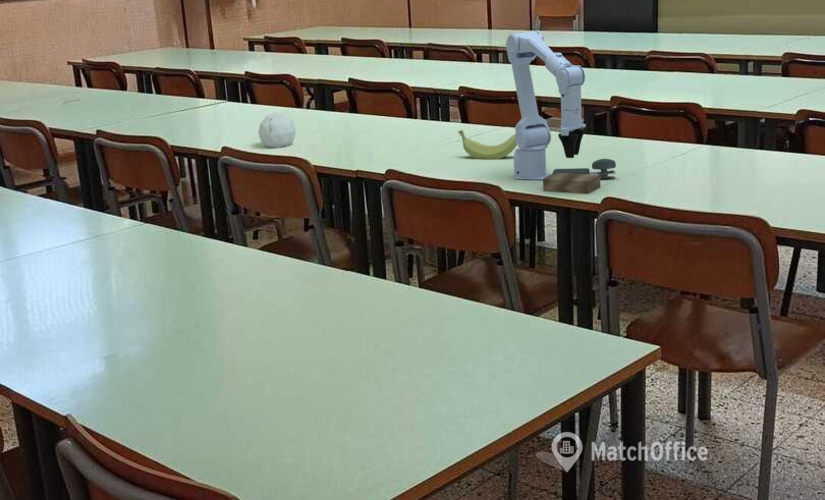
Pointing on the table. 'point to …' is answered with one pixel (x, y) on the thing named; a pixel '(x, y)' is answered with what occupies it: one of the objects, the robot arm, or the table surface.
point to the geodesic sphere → (277, 131)
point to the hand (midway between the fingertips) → (572, 156)
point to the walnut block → (571, 183)
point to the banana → (488, 148)
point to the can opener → (599, 165)
